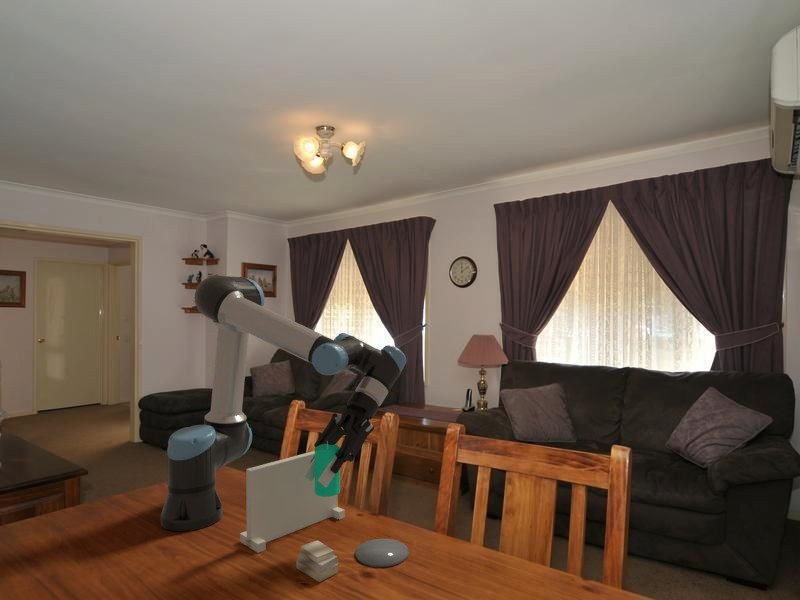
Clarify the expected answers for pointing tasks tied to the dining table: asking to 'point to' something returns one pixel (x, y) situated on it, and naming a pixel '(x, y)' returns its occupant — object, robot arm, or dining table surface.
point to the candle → (322, 459)
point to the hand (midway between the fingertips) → (314, 480)
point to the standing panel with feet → (283, 501)
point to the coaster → (381, 552)
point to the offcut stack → (317, 561)
